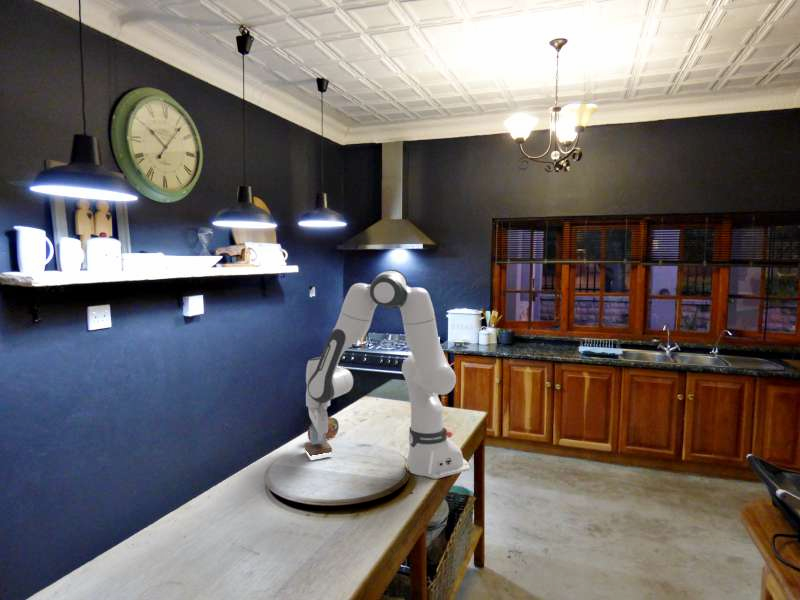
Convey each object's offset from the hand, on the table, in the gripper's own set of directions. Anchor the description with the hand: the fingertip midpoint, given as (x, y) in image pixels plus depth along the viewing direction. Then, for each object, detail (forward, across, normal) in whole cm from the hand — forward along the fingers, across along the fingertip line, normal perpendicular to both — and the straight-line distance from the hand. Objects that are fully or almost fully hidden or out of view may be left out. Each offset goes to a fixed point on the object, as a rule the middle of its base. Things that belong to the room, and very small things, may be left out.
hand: (318, 437), depth 179 cm
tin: (+7, +15, -5) cm, 17 cm away
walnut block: (+7, 0, 0) cm, 7 cm away
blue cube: (+2, 0, 0) cm, 2 cm away
